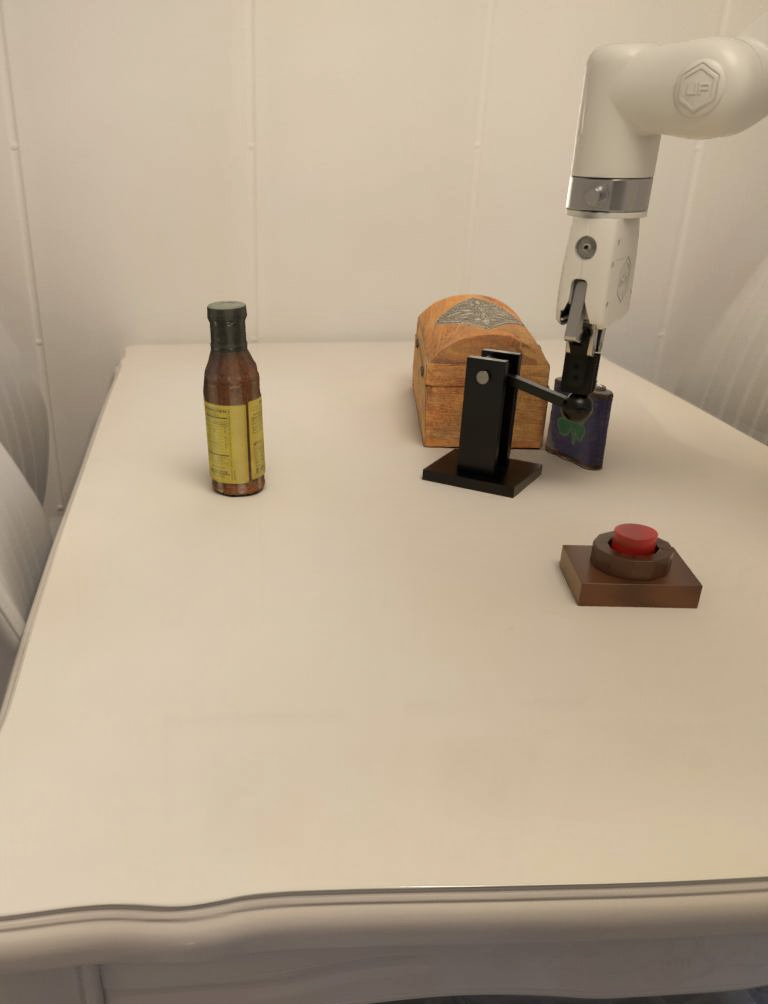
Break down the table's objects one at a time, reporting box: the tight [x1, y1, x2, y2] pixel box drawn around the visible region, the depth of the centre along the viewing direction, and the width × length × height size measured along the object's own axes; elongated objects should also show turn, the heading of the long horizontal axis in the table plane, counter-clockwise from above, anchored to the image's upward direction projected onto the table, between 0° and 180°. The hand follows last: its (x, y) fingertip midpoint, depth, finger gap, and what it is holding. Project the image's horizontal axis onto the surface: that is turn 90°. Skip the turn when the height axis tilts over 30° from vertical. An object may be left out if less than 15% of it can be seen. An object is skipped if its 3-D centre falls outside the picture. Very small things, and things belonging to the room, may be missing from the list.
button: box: [611, 522, 659, 556], centre depth 79 cm, size 4×4×2 cm
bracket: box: [421, 349, 543, 499], centre depth 103 cm, size 11×9×14 cm
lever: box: [486, 355, 593, 423], centre depth 98 cm, size 13×3×3 cm, turn 57°
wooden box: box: [412, 294, 551, 449], centre depth 124 cm, size 30×16×14 cm, turn 175°
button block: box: [558, 530, 703, 609], centre depth 80 cm, size 10×8×4 cm
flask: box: [545, 376, 614, 471], centre depth 109 cm, size 9×3×11 cm, turn 24°
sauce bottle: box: [202, 300, 266, 496], centre depth 98 cm, size 7×6×20 cm
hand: (577, 391), depth 96 cm, fingers closed
